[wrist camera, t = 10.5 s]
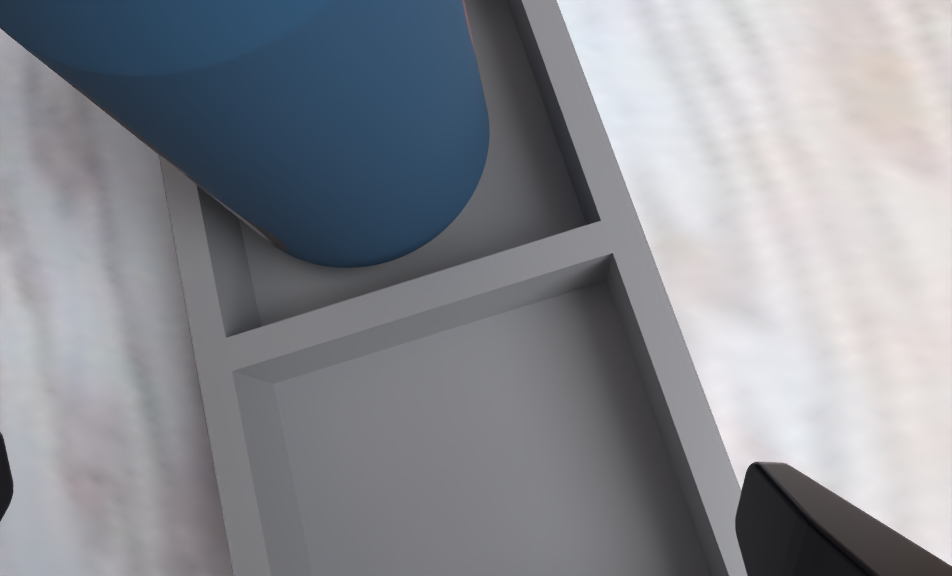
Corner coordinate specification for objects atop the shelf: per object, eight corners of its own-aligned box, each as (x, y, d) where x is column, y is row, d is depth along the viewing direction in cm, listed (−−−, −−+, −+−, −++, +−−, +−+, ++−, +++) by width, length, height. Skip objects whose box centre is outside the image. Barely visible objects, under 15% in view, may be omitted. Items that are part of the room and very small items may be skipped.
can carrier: (780, 677, 16) (828, 722, 13) (334, 804, 17) (286, 873, 14) (516, -44, 22) (509, -124, 19) (188, 64, 22) (131, 3, 19)
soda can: (528, 83, 20) (480, -457, 8) (443, 315, 19) (244, 53, 7) (305, 26, 21) (-2, -507, 10) (211, 239, 20) (-278, -86, 8)
